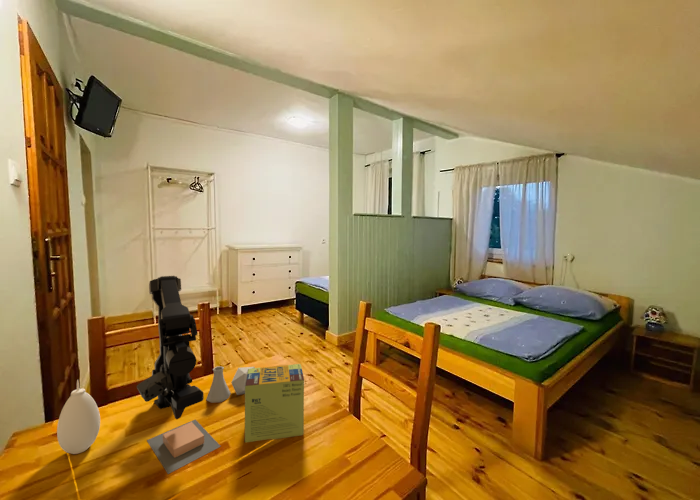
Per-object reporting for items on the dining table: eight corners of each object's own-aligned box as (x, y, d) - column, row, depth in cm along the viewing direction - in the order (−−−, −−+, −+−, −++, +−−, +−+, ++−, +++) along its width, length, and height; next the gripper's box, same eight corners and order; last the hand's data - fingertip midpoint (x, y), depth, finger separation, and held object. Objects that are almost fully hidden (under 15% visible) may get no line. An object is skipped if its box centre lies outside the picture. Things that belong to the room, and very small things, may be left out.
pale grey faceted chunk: (247, 403, 97) (264, 374, 101) (222, 390, 97) (241, 360, 101) (250, 399, 105) (266, 372, 109) (227, 386, 105) (244, 359, 109)
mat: (146, 441, 78) (146, 440, 78) (195, 420, 87) (195, 419, 87) (168, 475, 68) (167, 473, 68) (220, 447, 77) (220, 446, 77)
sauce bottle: (67, 444, 77) (64, 375, 76) (105, 437, 80) (103, 370, 79) (51, 466, 70) (48, 390, 69) (94, 457, 73) (91, 384, 72)
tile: (162, 434, 77) (173, 449, 72) (191, 421, 82) (204, 435, 77) (162, 443, 77) (174, 459, 72) (191, 430, 83) (204, 444, 77)
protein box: (304, 435, 82) (304, 379, 81) (244, 444, 78) (244, 386, 77) (300, 412, 92) (301, 363, 91) (247, 419, 88) (247, 367, 87)
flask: (221, 405, 95) (221, 374, 95) (201, 402, 97) (200, 372, 96) (234, 393, 102) (234, 364, 102) (215, 391, 104) (215, 362, 103)
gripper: (129, 359, 79) (131, 416, 80) (152, 384, 67) (153, 452, 67) (176, 347, 87) (177, 399, 88) (204, 367, 75) (204, 428, 76)
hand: (177, 418), depth 80 cm, fingers closed
